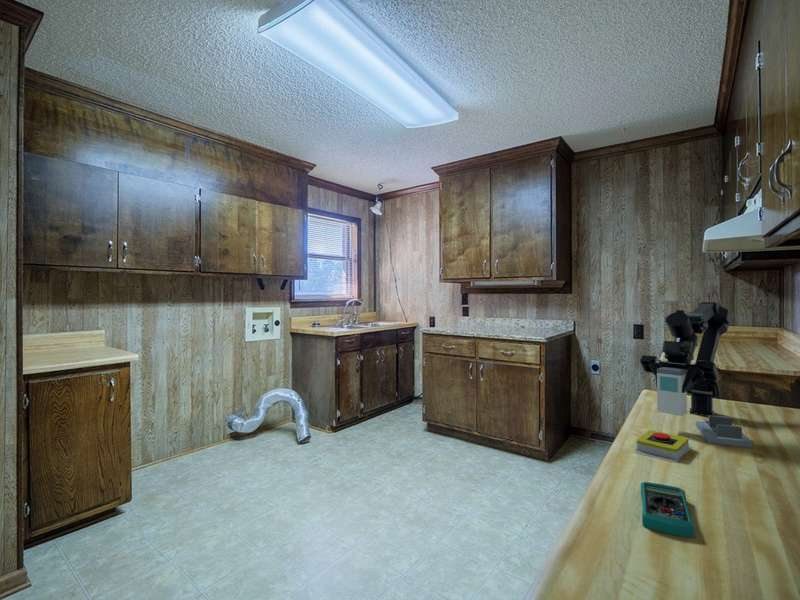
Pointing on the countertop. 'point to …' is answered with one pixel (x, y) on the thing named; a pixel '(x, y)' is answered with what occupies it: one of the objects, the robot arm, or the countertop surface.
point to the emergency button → (662, 445)
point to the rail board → (713, 439)
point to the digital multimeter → (666, 510)
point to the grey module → (671, 391)
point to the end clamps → (725, 427)
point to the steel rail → (716, 432)
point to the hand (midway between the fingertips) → (669, 390)
